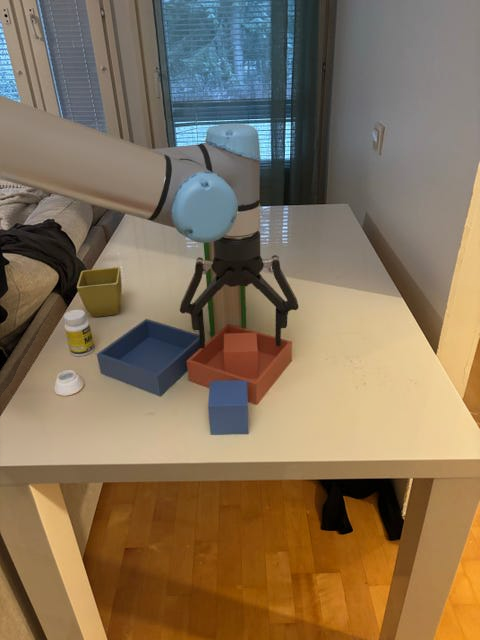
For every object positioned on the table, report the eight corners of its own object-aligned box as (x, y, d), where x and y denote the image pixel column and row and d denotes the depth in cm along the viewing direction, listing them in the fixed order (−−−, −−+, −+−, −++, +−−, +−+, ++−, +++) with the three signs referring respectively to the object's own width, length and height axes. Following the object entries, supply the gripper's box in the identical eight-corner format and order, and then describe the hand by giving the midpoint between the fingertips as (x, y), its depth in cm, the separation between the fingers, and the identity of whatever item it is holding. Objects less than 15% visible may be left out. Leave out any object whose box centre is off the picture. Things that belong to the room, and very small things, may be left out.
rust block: (225, 379, 84) (223, 352, 81) (225, 359, 90) (223, 333, 87) (258, 377, 84) (257, 350, 81) (256, 358, 90) (256, 332, 87)
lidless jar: (84, 393, 83) (83, 377, 87) (81, 380, 81) (80, 364, 85) (55, 400, 82) (55, 383, 86) (51, 386, 80) (51, 370, 84)
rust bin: (188, 380, 85) (186, 360, 83) (228, 342, 96) (227, 323, 93) (256, 405, 79) (256, 384, 77) (291, 361, 89) (292, 341, 87)
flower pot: (84, 323, 104) (75, 287, 99) (89, 304, 111) (81, 270, 107) (124, 319, 105) (117, 283, 100) (126, 300, 112) (120, 266, 108)
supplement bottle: (91, 356, 93) (82, 320, 88) (67, 357, 93) (57, 321, 88) (97, 343, 97) (89, 308, 92) (75, 343, 97) (66, 308, 93)
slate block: (210, 434, 73) (208, 406, 70) (212, 409, 78) (210, 381, 75) (248, 434, 73) (247, 405, 70) (247, 408, 78) (247, 380, 75)
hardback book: (246, 339, 96) (243, 228, 84) (210, 341, 96) (202, 230, 84) (242, 299, 111) (239, 199, 99) (211, 300, 111) (204, 201, 99)
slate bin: (100, 373, 88) (96, 354, 86) (148, 336, 98) (146, 318, 96) (160, 396, 82) (157, 376, 79) (204, 354, 92) (203, 335, 90)
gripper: (312, 220, 76) (306, 330, 87) (160, 225, 76) (174, 333, 87) (319, 237, 70) (312, 353, 81) (153, 242, 70) (168, 357, 81)
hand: (240, 343), depth 84 cm, fingers open, 13 cm apart
